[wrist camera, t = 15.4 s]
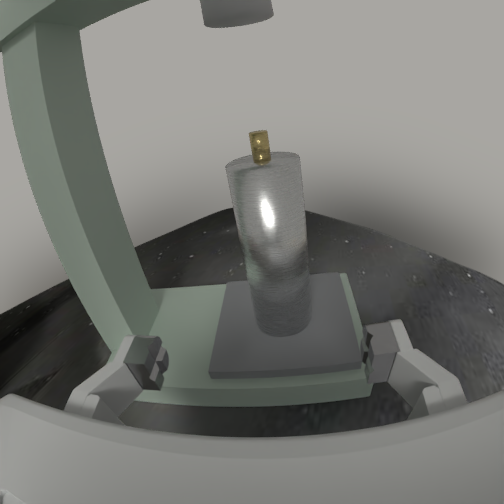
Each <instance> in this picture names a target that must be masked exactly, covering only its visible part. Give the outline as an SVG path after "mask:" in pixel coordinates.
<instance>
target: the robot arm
mask: <svg viewBox="0 0 504 504" xmlns="http://www.w3.org/2000/svg"><path fill="white" fill-rule="evenodd" d="M362 332H363V336H364V337H363V338H362V339H361V344H360V352H361V358H362V362H363V363H364V364H366V365H365V369H364V372H365V376H366V381H367V384H371V383H379V382H386V381H388V383H389V384H390V385H391V386H392V387H393V388H394V389H395V390H396V391H397V392H398V393H399V394H400V396H401V397H402V398H403V399H404V400H405V401H406V402H407V403H408V404H409V405H410V406H411V407H412V408H413V410H412V411H411V413H410V415H409V417H408V418H407V420H406V421H403V422H398V423H393V424H388V425H383V426H378V427H372V428H366V429H360V430H353V431H346V432H338V433H329V434H319V435H306V436H290V437H218V436H202V435H190V434H179V433H171V432H163V431H155V430H148V429H142V428H136V427H130V426H125V425H124V423H123V422H122V421H121V420H120V419H119V418H118V417H119V416H120V415H121V414H122V412H123V411H124V410H125V409H126V408H127V407H128V406H129V405H130V404H131V403H132V402H133V401H134V400H135V399H136V398H137V397H138V396H139V395H140V394H141V393H142V392H143V390H157V391H161V388H162V385H163V382H164V379H165V378H164V376H163V373H164V372H166V371H167V369H168V366H169V356H168V352H167V350H166V349H165V348H164V347H162V346H161V345H162V340H161V338H160V337H159V336H146V335H126V336H125V337H124V339H123V341H122V343H121V345H120V347H119V349H118V351H117V353H116V356H115V358H114V360H113V362H109V363H108V364H106V365H105V366H104V367H102V368H101V369H100V370H99V371H97V372H96V373H95V374H93V375H92V376H91V377H89V378H88V379H87V380H85V381H84V382H83V383H81V384H80V385H79V386H77V387H76V388H75V389H73V391H72V393H71V396H70V398H69V400H68V402H67V404H66V406H65V408H64V410H59V409H56V408H53V407H50V406H47V405H44V404H41V403H38V402H35V401H32V400H29V399H27V398H24V397H21V396H19V395H16V394H8V395H6V396H4V397H3V398H1V399H0V504H504V390H502V391H499V392H497V393H494V394H492V395H489V396H487V397H484V398H481V399H479V400H476V401H473V402H470V403H467V400H466V398H465V395H464V392H463V390H462V387H461V385H460V382H459V380H458V378H457V377H455V376H454V375H453V374H451V373H450V372H448V371H447V370H446V369H444V368H443V367H442V366H440V365H439V364H437V363H436V362H435V361H433V360H432V359H431V358H429V357H428V356H426V355H425V354H424V353H422V352H421V351H419V350H418V349H413V347H412V344H411V341H410V339H409V337H408V334H407V332H406V329H405V327H404V324H403V322H402V320H401V319H397V320H391V321H384V322H377V323H370V324H364V326H363V330H362Z"/></svg>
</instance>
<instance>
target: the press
mask: <svg viewBox="0 0 504 504" xmlns="http://www.w3.org/2000/svg"><path fill="white" fill-rule="evenodd" d="M146 1H148V0H0V52H2V54H3V65H4V73H5V80H6V87H7V94H8V99H9V104H10V110H11V115H12V120H13V125H14V129H15V133H16V137H17V141H18V145H19V149H20V153H21V156H22V160H23V163H24V167H25V170H26V173H27V176H28V180H29V183H30V185H31V189H32V191H33V195H34V197H35V200H36V203H37V206H38V208H39V211H40V214H41V216H42V219H43V221H44V224H45V226H46V229H47V231H48V234H49V236H50V238H51V241H52V243H53V245H54V247H55V250H56V252H57V254H58V256H59V259H60V261H61V263H62V265H63V267H64V269H65V271H66V273H67V275H68V277H69V279H70V281H71V283H72V285H73V287H74V289H75V291H76V293H77V295H78V297H79V298H80V300H81V302H82V304H83V306H84V308H85V309H86V311H87V313H88V315H89V316H90V318H91V320H92V322H93V323H94V325H95V327H96V328H97V330H98V332H99V333H100V335H101V337H102V338H103V340H104V341H105V343H106V345H107V346H108V348H109V349H110V351H111V352H112V353H111V355H110V358H109V360H108V362H107V364H108V363H109V362H113V360H114V358H115V356H116V353H117V351H118V349H119V347H120V345H121V343H122V341H123V339H124V337H125V336H126V335H146V336H159V337H160V338H161V340H162V345H161V346H162V347H164V348H165V349H166V350H167V352H168V356H169V366H168V369H167V371H166V372H164V373H163V376H164V378H165V379H164V382H163V385H162V388H161V391H157V390H143V392H142V393H141V394H140V395H139V396H138V397H137V398H136V399H135V400H136V401H144V402H153V403H163V404H175V405H191V406H214V407H261V406H284V405H300V404H312V403H322V402H331V401H340V400H348V399H355V398H362V397H368V396H370V394H371V390H372V387H373V383H371V384H367V381H366V376H365V372H364V369H365V365H366V364H364V363H363V362H362V358H361V352H360V344H361V339H362V338H363V337H364V336H363V332H362V330H363V328H362V324H361V321H360V317H359V314H358V310H357V307H356V303H355V300H354V297H353V294H352V290H351V287H350V284H349V281H348V277H347V274H346V273H341V274H339V272H331V273H321V274H311V275H310V294H311V321H310V323H309V325H308V326H307V327H306V328H305V329H304V330H303V331H301V332H299V333H297V334H295V335H292V336H288V337H274V336H270V335H267V334H265V333H264V332H262V331H261V330H260V329H259V328H258V326H257V323H256V318H255V313H254V309H253V304H252V299H251V294H250V289H249V284H248V280H246V281H234V282H227V284H221V285H208V286H194V287H179V288H163V289H150V287H149V285H148V282H147V280H146V277H145V275H144V272H143V270H142V267H141V265H140V262H139V259H138V257H137V254H136V252H135V249H134V246H133V243H132V241H131V238H130V235H129V233H128V230H127V227H126V224H125V221H124V218H123V215H122V212H121V209H120V206H119V203H118V200H117V197H116V194H115V190H114V187H113V184H112V180H111V177H110V174H109V171H108V167H107V163H106V160H105V156H104V152H103V149H102V145H101V141H100V137H99V133H98V129H97V125H96V121H95V117H94V112H93V108H92V103H91V98H90V93H89V89H88V83H87V78H86V72H85V67H84V60H83V54H82V47H81V40H80V33H79V30H81V29H83V28H85V27H87V26H89V25H91V24H93V23H95V22H97V21H99V20H101V19H104V18H106V17H108V16H110V15H113V14H115V13H117V12H119V11H122V10H125V9H127V8H129V7H132V6H135V5H137V4H140V3H143V2H146ZM200 3H201V8H202V14H203V19H204V25H205V26H207V27H211V28H225V27H235V26H242V25H248V24H253V23H257V22H261V21H264V20H267V19H269V18H271V17H272V16H273V9H272V4H271V0H200Z"/></svg>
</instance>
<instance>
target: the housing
mask: <svg viewBox="0 0 504 504" xmlns="http://www.w3.org/2000/svg"><path fill="white" fill-rule="evenodd" d="M249 137H250V143H251V149H252V155H249V156H245V157H241V158H238V159H236V160H233V161H231V162H229V163H228V164H227V165H226V172H227V177H228V183H229V187H230V193H231V198H232V203H233V208H234V213H235V219H236V224H237V229H238V234H239V239H240V244H241V249H242V254H243V259H244V264H245V269H246V274H247V279H248V284H249V289H250V294H251V299H252V304H253V309H254V313H255V318H256V323H257V326H258V328H259V329H260V330H261V331H262V332H264V333H265V334H267V335H270V336H274V337H288V336H292V335H295V334H297V333H299V332H301V331H303V330H304V329H305V328H306V327H307V326H308V325H309V323H310V321H311V294H310V275H309V259H308V244H307V230H306V218H305V207H304V197H303V185H302V175H301V165H300V157H299V155H297V154H295V153H290V152H270V147H269V140H268V134H267V131H266V130H261V131H254V132H250V133H249Z"/></svg>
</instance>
